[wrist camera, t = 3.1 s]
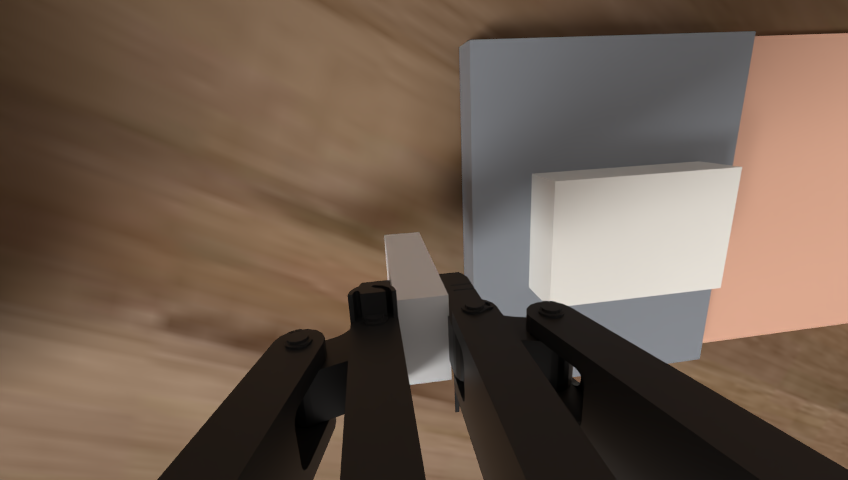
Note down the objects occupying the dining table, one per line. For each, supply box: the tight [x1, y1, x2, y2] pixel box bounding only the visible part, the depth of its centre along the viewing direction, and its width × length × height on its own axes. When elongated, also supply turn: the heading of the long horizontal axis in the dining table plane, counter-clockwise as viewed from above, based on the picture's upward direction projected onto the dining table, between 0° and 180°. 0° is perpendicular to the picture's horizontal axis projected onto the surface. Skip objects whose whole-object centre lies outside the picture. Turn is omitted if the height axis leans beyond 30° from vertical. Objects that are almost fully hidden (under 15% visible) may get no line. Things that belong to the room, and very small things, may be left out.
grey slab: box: [459, 31, 756, 377], centre depth 22 cm, size 14×18×2 cm
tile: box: [529, 161, 742, 306], centre depth 20 cm, size 9×6×2 cm, turn 93°
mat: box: [702, 33, 848, 343], centre depth 25 cm, size 13×18×1 cm
